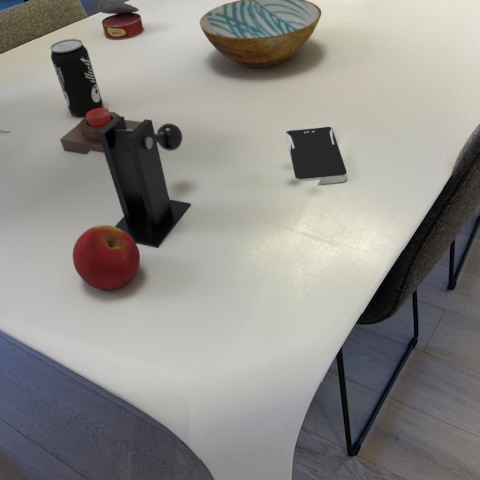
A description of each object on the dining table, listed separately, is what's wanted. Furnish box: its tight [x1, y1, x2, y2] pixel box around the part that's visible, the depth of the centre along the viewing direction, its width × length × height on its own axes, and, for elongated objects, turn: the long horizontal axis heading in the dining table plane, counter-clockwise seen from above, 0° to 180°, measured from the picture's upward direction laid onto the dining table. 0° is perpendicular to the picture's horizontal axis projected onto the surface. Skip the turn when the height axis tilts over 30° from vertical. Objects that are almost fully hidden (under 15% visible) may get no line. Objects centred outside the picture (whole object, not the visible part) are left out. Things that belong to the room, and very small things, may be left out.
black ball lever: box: [115, 122, 184, 152], centre depth 65 cm, size 13×4×4 cm, turn 157°
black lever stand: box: [98, 115, 192, 249], centre depth 65 cm, size 10×8×15 cm
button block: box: [59, 111, 143, 155], centre depth 86 cm, size 12×9×4 cm
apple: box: [72, 224, 141, 291], centre depth 60 cm, size 8×8×8 cm
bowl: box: [199, 0, 323, 68], centre depth 104 cm, size 25×25×8 cm
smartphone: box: [285, 125, 348, 186], centre depth 78 cm, size 8×1×15 cm
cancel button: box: [86, 107, 112, 128], centre depth 84 cm, size 4×4×2 cm
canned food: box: [96, 0, 144, 41], centre depth 123 cm, size 11×10×10 cm
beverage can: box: [49, 38, 103, 118], centre depth 92 cm, size 7×7×12 cm
